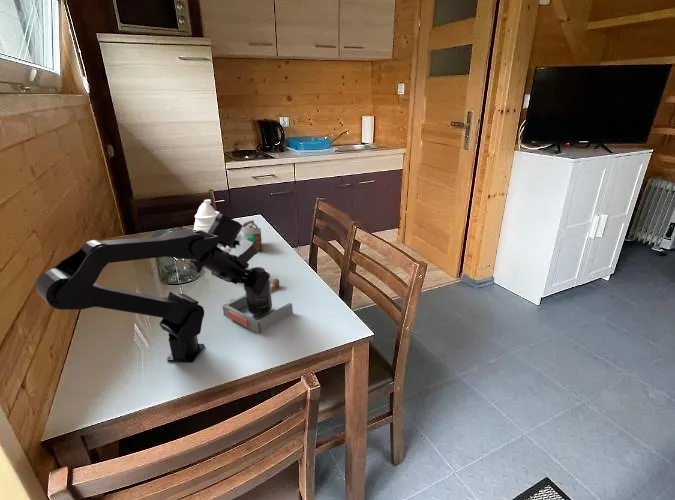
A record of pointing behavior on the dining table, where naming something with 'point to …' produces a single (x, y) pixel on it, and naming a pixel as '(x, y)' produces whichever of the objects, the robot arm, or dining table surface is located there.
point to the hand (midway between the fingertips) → (259, 285)
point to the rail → (272, 285)
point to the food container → (252, 234)
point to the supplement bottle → (259, 300)
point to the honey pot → (205, 217)
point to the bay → (256, 326)
